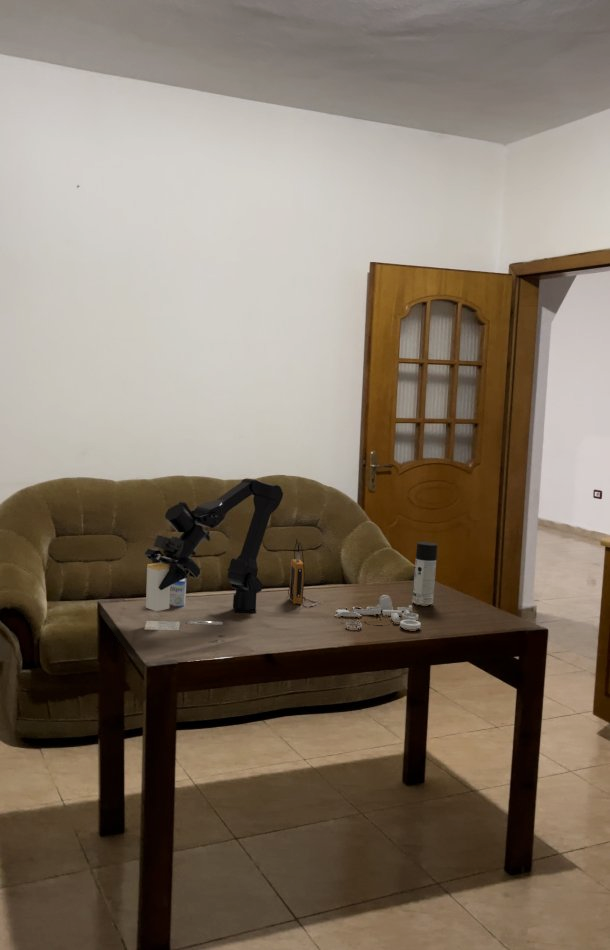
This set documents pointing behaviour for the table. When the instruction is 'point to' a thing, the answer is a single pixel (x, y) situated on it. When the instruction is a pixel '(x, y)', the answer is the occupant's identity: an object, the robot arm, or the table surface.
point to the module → (157, 587)
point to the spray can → (424, 573)
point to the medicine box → (178, 593)
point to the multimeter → (297, 580)
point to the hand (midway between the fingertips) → (154, 587)
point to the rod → (205, 622)
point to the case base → (162, 625)
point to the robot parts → (386, 608)
